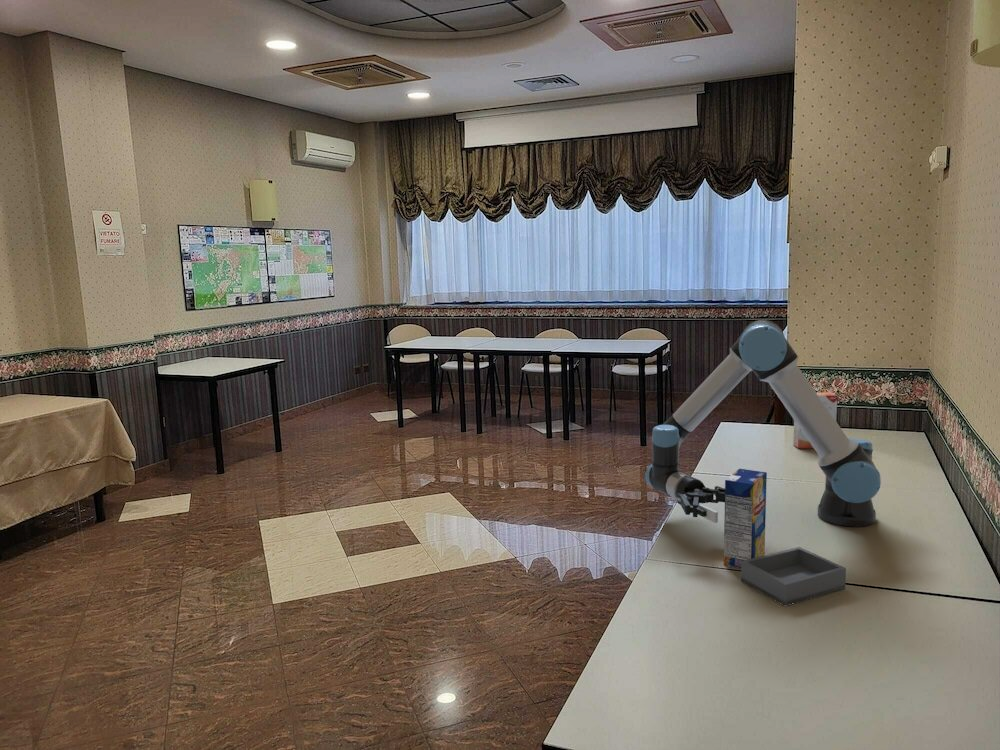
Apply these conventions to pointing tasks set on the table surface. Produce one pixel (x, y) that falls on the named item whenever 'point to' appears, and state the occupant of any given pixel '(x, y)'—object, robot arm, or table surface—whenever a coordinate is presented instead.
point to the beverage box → (744, 516)
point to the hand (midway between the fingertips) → (738, 512)
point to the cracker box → (831, 405)
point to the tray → (793, 575)
